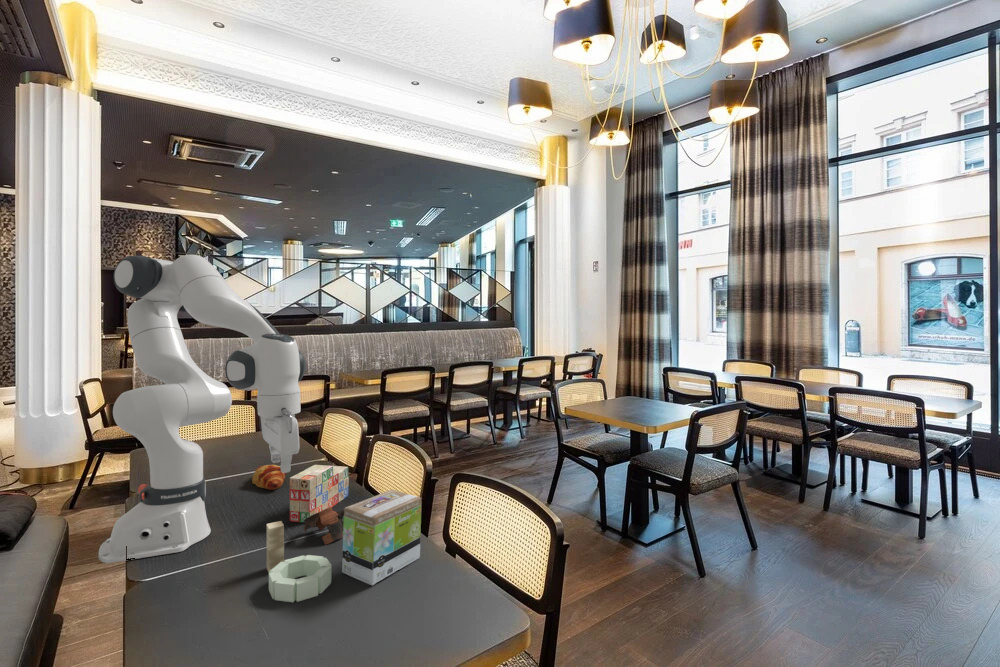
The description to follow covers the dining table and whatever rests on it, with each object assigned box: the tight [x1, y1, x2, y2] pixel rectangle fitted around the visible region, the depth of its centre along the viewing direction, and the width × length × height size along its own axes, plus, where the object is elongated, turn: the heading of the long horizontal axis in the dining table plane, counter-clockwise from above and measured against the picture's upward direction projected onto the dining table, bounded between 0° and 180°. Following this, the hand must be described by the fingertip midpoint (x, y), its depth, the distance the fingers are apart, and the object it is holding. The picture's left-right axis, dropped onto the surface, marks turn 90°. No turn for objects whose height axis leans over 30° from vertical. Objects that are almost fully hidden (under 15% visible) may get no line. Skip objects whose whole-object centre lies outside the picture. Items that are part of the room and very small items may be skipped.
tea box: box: [341, 489, 422, 586], centre depth 110 cm, size 15×10×15 cm, turn 148°
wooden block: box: [266, 520, 285, 574], centre depth 107 cm, size 3×3×10 cm
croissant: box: [251, 464, 287, 491], centre depth 163 cm, size 21×10×8 cm, turn 38°
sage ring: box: [268, 554, 332, 603], centre depth 101 cm, size 12×12×4 cm
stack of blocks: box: [288, 464, 350, 524], centre depth 143 cm, size 21×6×12 cm, turn 169°
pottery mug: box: [303, 507, 344, 546], centre depth 125 cm, size 12×10×8 cm
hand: (280, 466), depth 109 cm, fingers open, 8 cm apart
